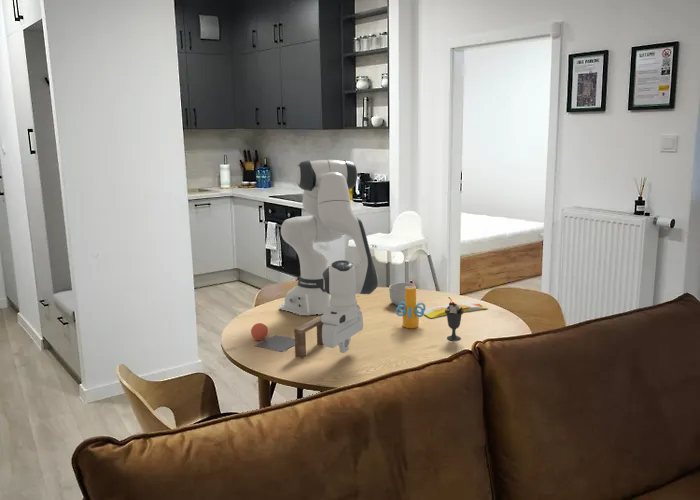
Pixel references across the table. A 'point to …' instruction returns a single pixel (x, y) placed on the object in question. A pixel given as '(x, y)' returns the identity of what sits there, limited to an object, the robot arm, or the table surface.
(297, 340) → the bridge
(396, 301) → the teacup
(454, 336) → the sundae
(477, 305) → the food package
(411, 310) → the cylinder
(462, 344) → the table surface
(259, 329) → the ball
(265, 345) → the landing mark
